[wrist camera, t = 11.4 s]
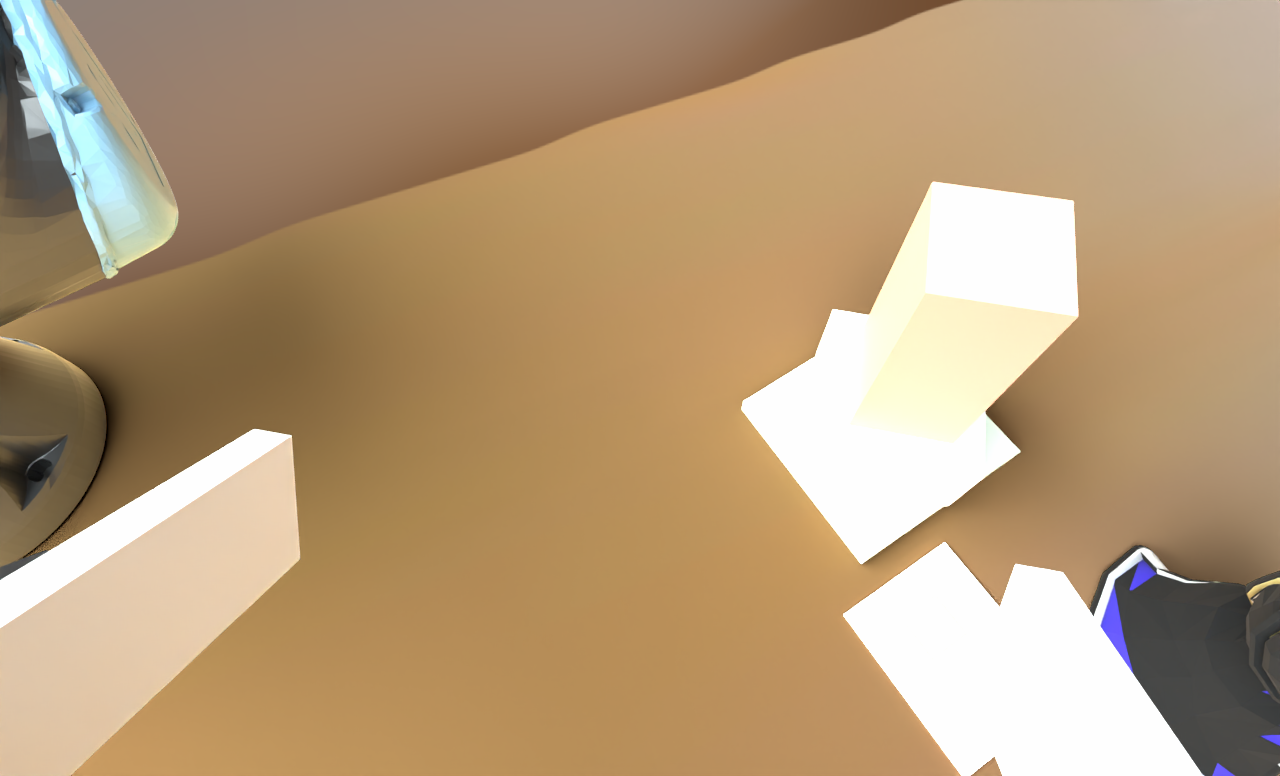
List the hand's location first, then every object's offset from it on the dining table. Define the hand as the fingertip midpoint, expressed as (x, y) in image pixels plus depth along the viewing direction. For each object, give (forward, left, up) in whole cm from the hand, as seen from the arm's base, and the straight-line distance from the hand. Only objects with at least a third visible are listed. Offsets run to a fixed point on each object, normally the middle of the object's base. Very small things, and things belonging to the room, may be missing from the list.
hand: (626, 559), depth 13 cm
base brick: (-4, +18, -25) cm, 31 cm away
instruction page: (+8, +13, -26) cm, 30 cm away
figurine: (+14, +22, -27) cm, 37 cm away
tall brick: (-4, +18, -20) cm, 27 cm away
